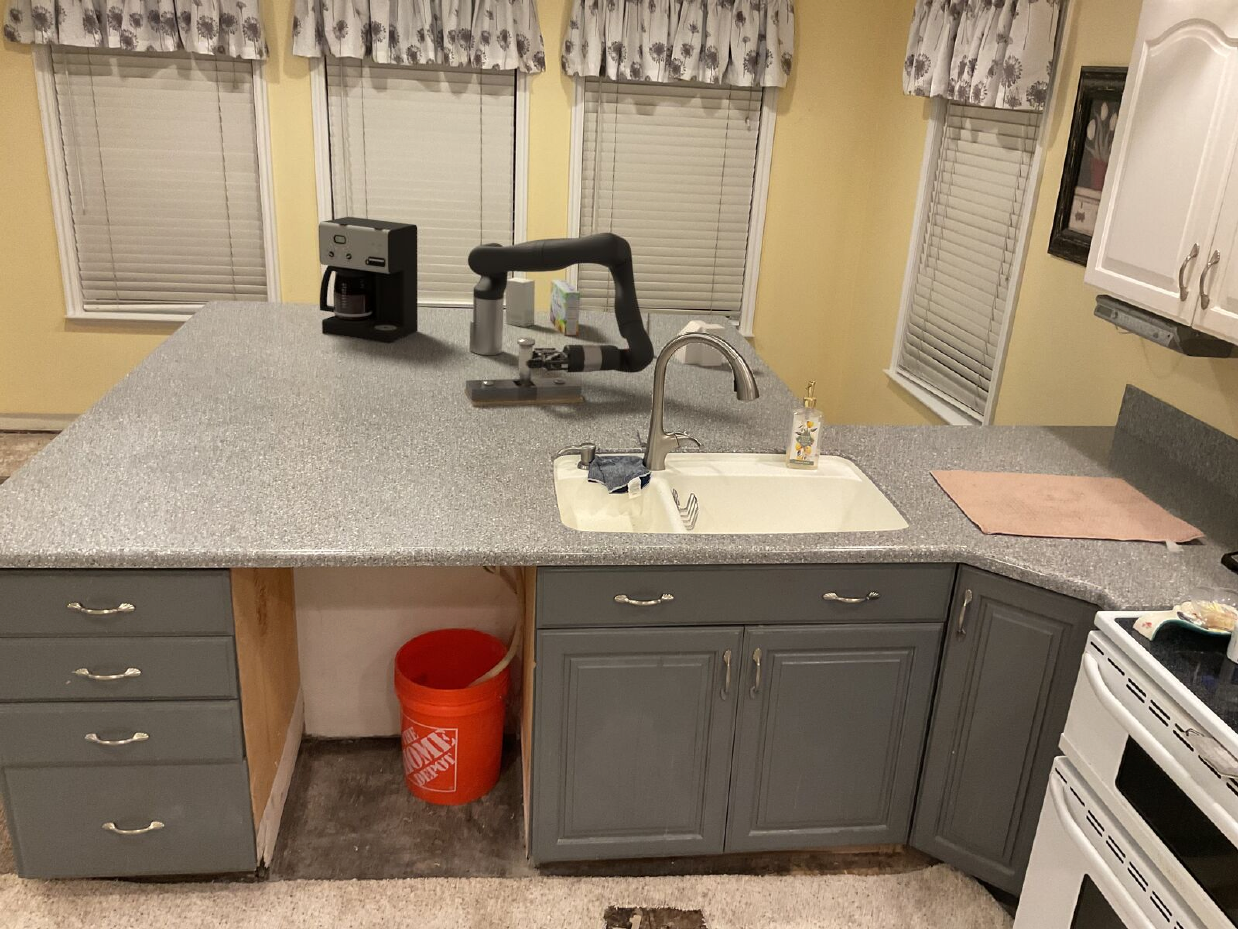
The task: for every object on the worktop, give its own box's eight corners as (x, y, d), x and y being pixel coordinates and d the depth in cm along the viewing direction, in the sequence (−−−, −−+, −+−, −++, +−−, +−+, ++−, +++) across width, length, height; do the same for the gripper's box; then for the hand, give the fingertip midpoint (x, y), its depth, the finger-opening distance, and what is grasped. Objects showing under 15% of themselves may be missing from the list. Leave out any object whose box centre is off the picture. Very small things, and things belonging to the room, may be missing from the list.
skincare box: (534, 324, 353) (536, 280, 347) (523, 327, 348) (524, 282, 342) (515, 320, 357) (517, 276, 351) (503, 323, 352) (505, 278, 346)
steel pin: (512, 394, 273) (514, 340, 267) (519, 389, 277) (522, 336, 271) (528, 397, 271) (530, 343, 266) (535, 392, 276) (538, 339, 270)
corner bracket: (721, 365, 320) (725, 328, 316) (688, 366, 316) (692, 329, 311) (706, 356, 329) (710, 320, 325) (674, 357, 325) (678, 320, 321)
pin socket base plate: (473, 406, 264) (473, 389, 263) (464, 392, 275) (464, 376, 273) (582, 402, 274) (583, 385, 272) (570, 388, 285) (571, 373, 283)
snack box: (548, 321, 360) (550, 278, 354) (563, 321, 361) (565, 279, 356) (563, 336, 341) (565, 291, 336) (579, 336, 343) (581, 291, 337)
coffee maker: (309, 331, 323) (305, 220, 310) (342, 319, 340) (339, 213, 328) (388, 343, 316) (387, 230, 303) (418, 331, 333) (417, 223, 321)
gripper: (575, 338, 281) (518, 339, 275) (590, 351, 268) (531, 353, 263) (573, 364, 283) (517, 365, 278) (589, 379, 271) (530, 380, 266)
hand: (524, 359), depth 271 cm, fingers open, 8 cm apart
